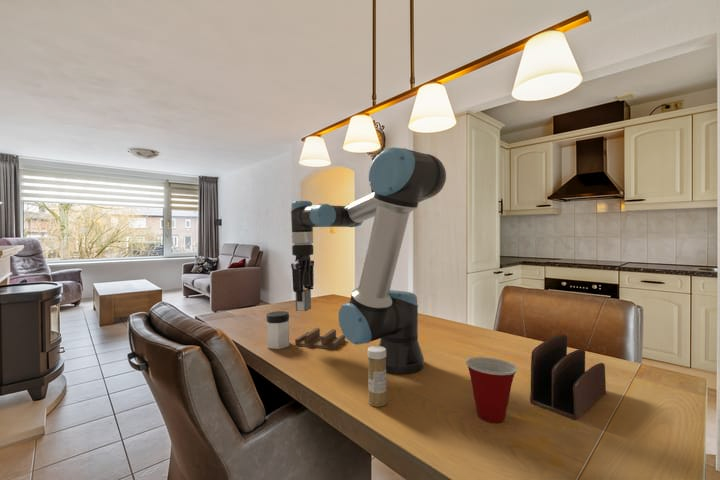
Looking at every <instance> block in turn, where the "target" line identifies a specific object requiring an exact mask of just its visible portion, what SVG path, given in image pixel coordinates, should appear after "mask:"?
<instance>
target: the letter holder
mask: <svg viewBox="0 0 720 480" xmlns="http://www.w3.org/2000/svg"><path fill="white" fill-rule="evenodd" d="M530 356H531V357H530V359H531V360H530V396H529V397H530V399H529V400H530V401H529V403H530V404H531V405H534V406H536V407H539V408H542V409H545V410H546V411H549V412H552V413H554V414H557V415H560V416H562V417H565V418H568V419H571V420H572V421H573V420H574V421H577V420H578V419H579V418H580V417H582V416H583V414H584V413H586V412H587V411H588V410H589V409H590V408H591V407H592V406H593V405H595V404H596V403H597V402H598V401H599V400H600V399H601V398H602V397H603V396H604V395H605V394H606V393H607V385H606V382H607V381H606V365H605V363H603V362H599V363H596V364H594V365H593V366H591V367H590V368H588V369H587V370H586V351H585V349H584V348H580V349H576V350H573V351H571V352H569V353H568V336H567V334H557V335H555V336H551V337H550V338H548V339H546V340H544V341H543V342H541V343H539V345H538V344H537V346H536V347H534V349H533V350H532V351H531V355H530Z"/></svg>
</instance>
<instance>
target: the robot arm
mask: <svg viewBox="0 0 720 480" xmlns="http://www.w3.org/2000/svg"><path fill="white" fill-rule="evenodd" d="M446 181H447V171H446V167H445V165H444V164H443V162H442V161H441V160H440V159H439V158H438V157H436V156H435V155H432V154H429V153H424V152H419V151H415V150H412V149H408V148H406V147H404V148H401V147H393V146H392V147H388V148H385V149H383V150H382V151H381V152H379V153H378V154H377V155H375V157H374V158H373V160H372V162H371V165H370V167H369V170H368V182H370V183H369V186H370V188H371V190H372V191H373V192H371V193H369V194H367V195H365V196H363V197H360V198H358V199H355V201H352V202H350V203H348V204H346V205H332V204H330V203H318V204H313V202H312V201H310V200H295V201H292V202H291V209H290V210H291V211H290V217H291V220H290V221H291V242H292V244H293V245H292V246H291V249H292V252H291V253H292V256H295V260H294V262H292V263H291V265H290V267H291V273H292V291H293V292H294V293H296V292H297V310H300V312H306V311H305V292H303V288H308V290H314V280H315V279H314V277H315V276H314V265H315V260H311V256H312V255H314V245H313V243H314V228H338V227H339V228H355V227H356V228H357V227H360V226H362V223H364V222H365V221H367V220H369V219H371V218H373V219H374V220H373V223H372V227H371V232H370V237H369V240H368V246H367V250H366V254H365V258H364V263H363V267H362V270H361V271H362V272H361V276H360V279H359V284H358V287H356V288H355V289H354V288H353V290H352V291H351V295H350V300H349V302H346V303H344V304H343V305H341V307H340V308H339V310H338V317H337V318H338V319H337V320H338V324H339V327H340V330H341V332H342V335H344V336H345V339H346V340H347V341H349V342H350V343H351V344H353V345H363V344H369V343H370V342H371V343H372V342H374V341H377V340H379V344H378V346H382V347H385V348H386V373H389V374H395V375H396V374H398V375H405V374H406V375H407V374H413V373H417V372H420V371H421V370H422V369H423V368H424V367H425V358H424V354H423V352H422V349H421V346H420V343H419V323H418V321H419V320H418V318H419V317H418V316H419V315H418V313H419V311H418V310H419V305H418V297H417V294H415V293H413V292H410V291H404V290H403V291H402V290H394V289H393V290H392V289H391V288H392V287H391V286H392V282H393V279H394V275H395V271H396V267H397V263H398V260H399V257H400V251H401V248H402V244H403V240H404V236H405V232H406V230H407V229H406V228H407V224H408V220H409V217H410V213H412V212H413V211H414V210H416V209H417V208H418V205H419V203H421V202H423V201H425V200H429V199H431V198H433V197H435V196H437V195H438V194H439V193H440V192H441V191H443V188H444V186H445V184H446Z"/></svg>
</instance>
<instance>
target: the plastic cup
mask: <svg viewBox="0 0 720 480" xmlns="http://www.w3.org/2000/svg"><path fill="white" fill-rule="evenodd" d="M465 363H466V365H467V368H468V373H469V376H470V381H471V389H472V393H473V399H474V403H475V410H476V412H477V416H478V417H479V418H480V419H481V420H483V421H485V422H488V423H491V424H492V423H493V424H497V423H498V424H499V423H502V422H504V421H505V418H506V416H507V410H508V409H507V408H508V407H509V406H508V405H509V401H510V396H511V395H510V394H511V389H512V384H513V382H514V380H513V379H514V377H515V374H516V373H517V371H518V367H517V366H516V365H515V364H513V363H511V362H509V361H506V360H502V359H498V358H494V357H493V358H492V357H483V356H482V357H481V356H478V357H471V358H467V359H466V360H465Z"/></svg>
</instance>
